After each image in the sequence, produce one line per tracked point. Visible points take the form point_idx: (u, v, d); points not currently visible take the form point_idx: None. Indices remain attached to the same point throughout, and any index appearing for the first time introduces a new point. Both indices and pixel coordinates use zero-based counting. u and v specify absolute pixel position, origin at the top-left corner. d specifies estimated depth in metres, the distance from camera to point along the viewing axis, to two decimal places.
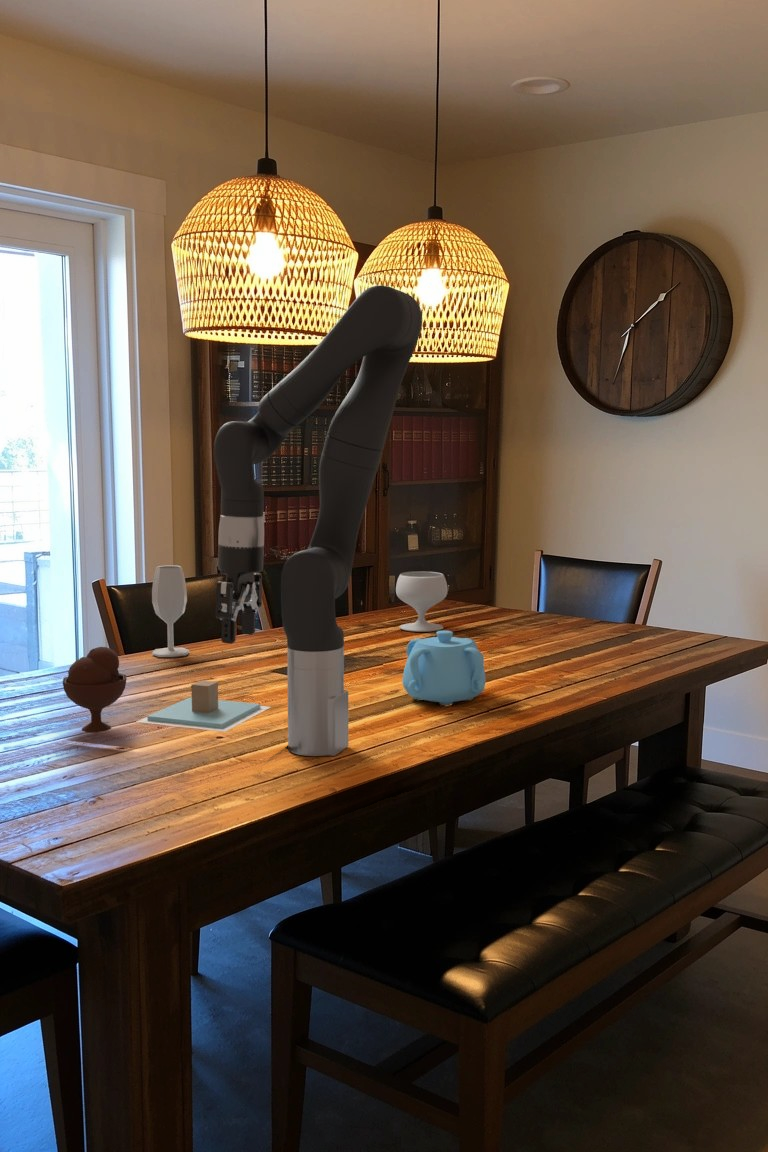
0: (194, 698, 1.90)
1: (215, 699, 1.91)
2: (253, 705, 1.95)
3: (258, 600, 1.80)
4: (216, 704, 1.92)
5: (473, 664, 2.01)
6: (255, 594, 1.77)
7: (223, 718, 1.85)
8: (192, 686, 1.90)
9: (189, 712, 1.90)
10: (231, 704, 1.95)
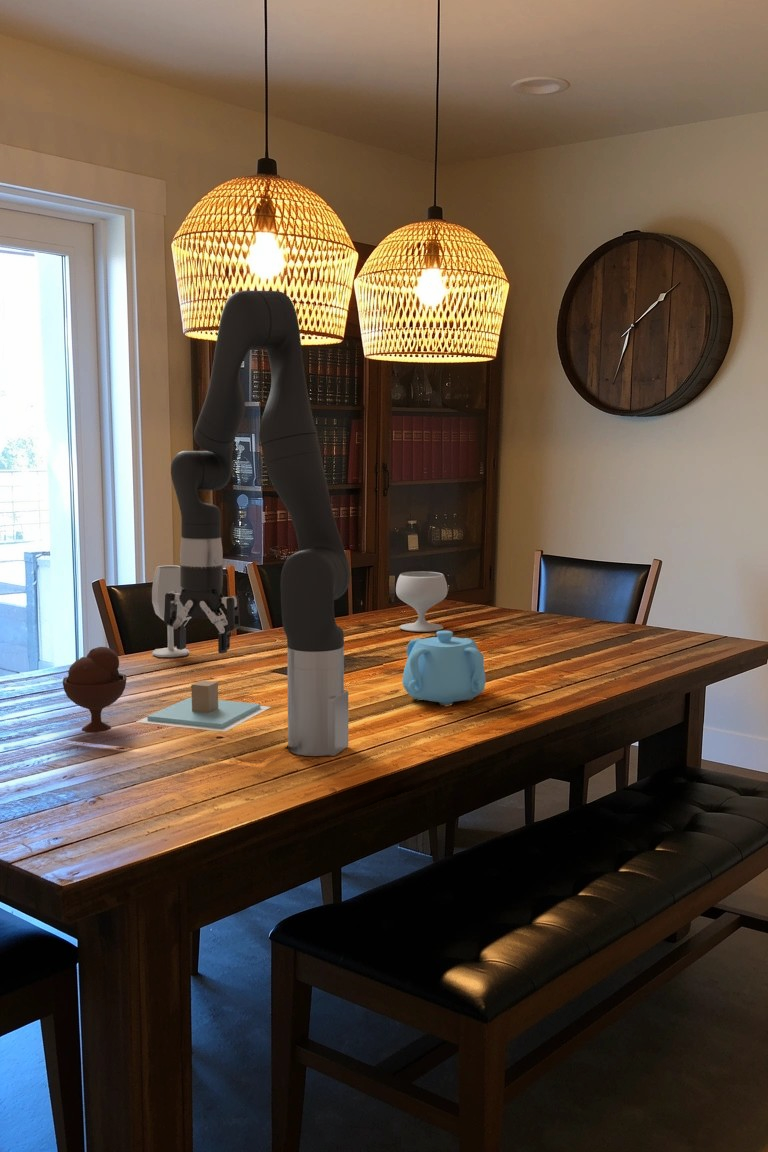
0: (194, 698, 1.90)
1: (215, 699, 1.91)
2: (253, 705, 1.95)
3: (176, 616, 1.92)
4: (216, 704, 1.92)
5: (473, 664, 2.01)
6: None
7: (223, 718, 1.85)
8: (192, 686, 1.90)
9: (189, 712, 1.90)
10: (231, 704, 1.95)
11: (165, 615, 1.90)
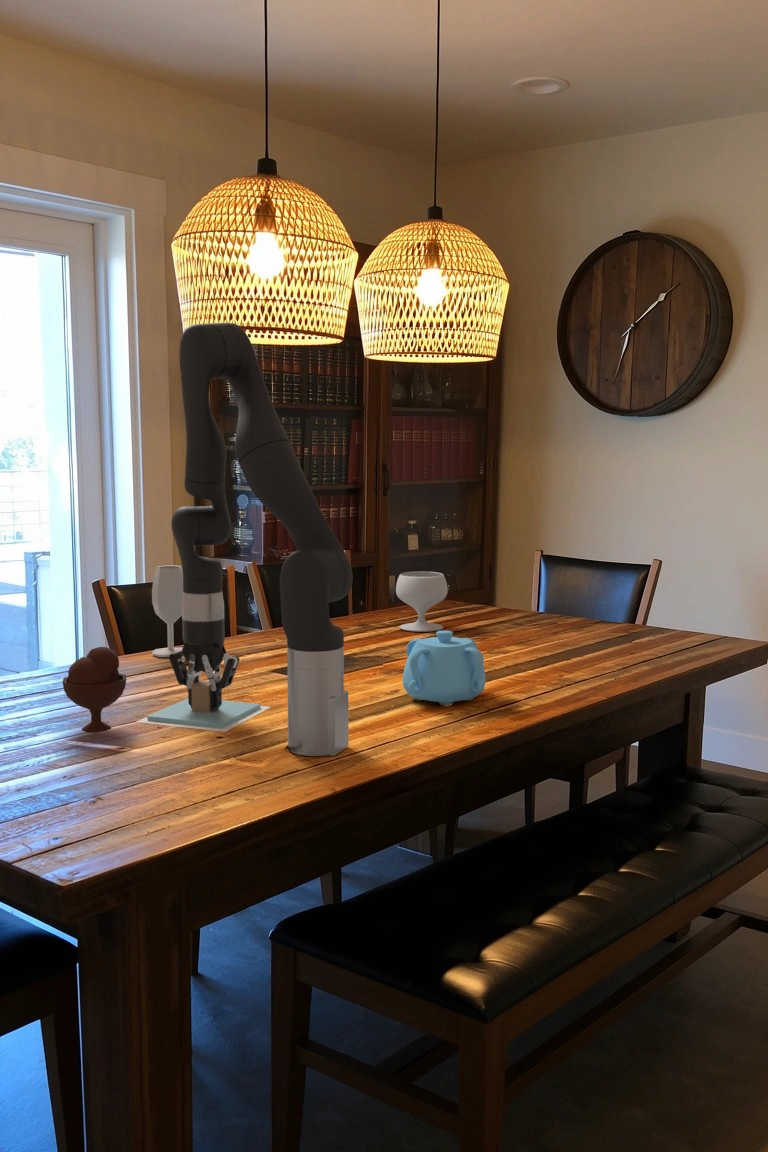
0: (194, 698, 1.90)
1: None
2: (253, 705, 1.95)
3: None
4: None
5: (473, 664, 2.01)
6: None
7: (223, 718, 1.85)
8: (192, 686, 1.90)
9: (189, 712, 1.90)
10: (231, 704, 1.95)
11: (177, 676, 1.91)
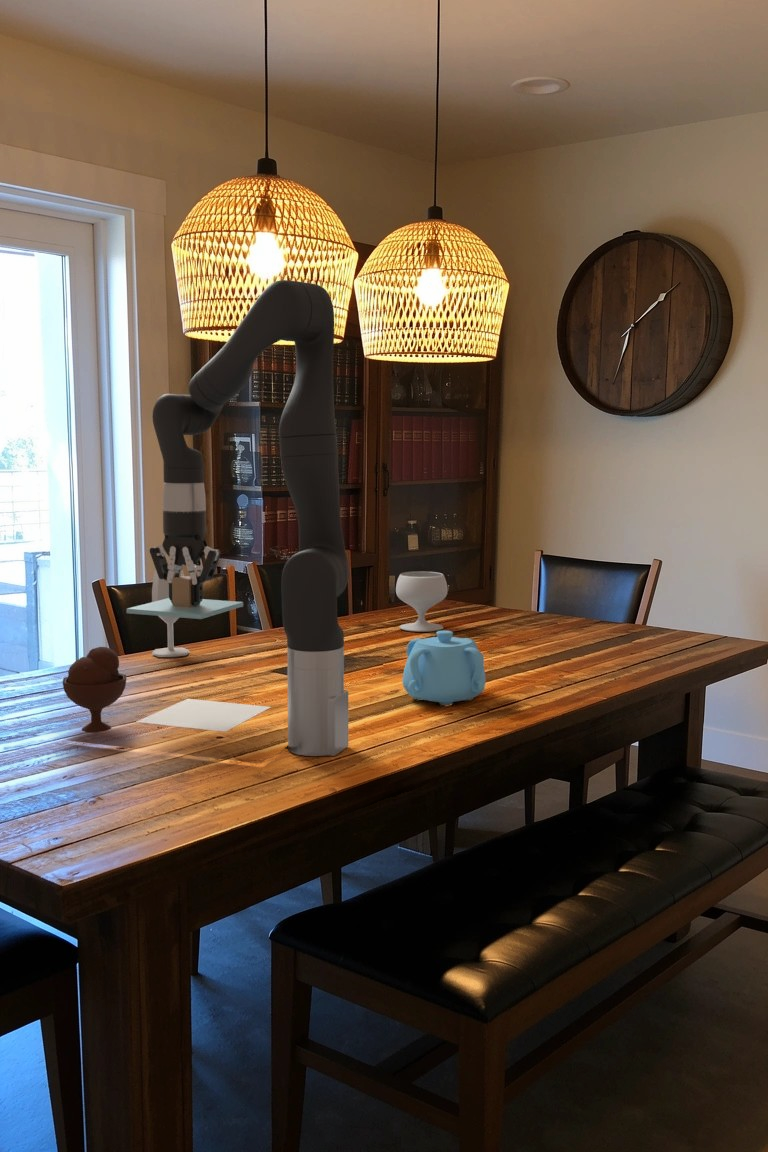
0: (175, 592, 1.86)
1: None
2: (235, 602, 1.91)
3: None
4: None
5: (473, 664, 2.01)
6: None
7: (203, 611, 1.81)
8: (173, 580, 1.86)
9: (169, 606, 1.86)
10: (213, 602, 1.91)
11: (157, 570, 1.87)
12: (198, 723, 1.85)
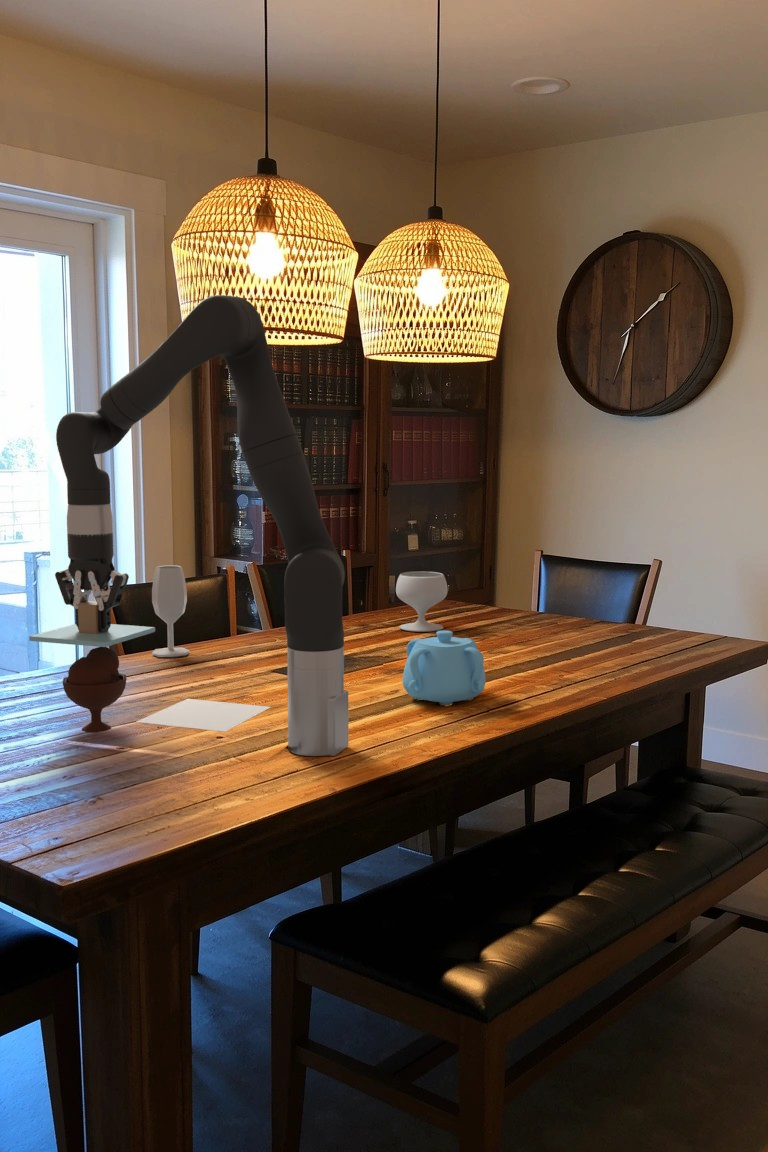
0: (81, 618, 1.78)
1: None
2: (147, 628, 1.83)
3: None
4: None
5: (473, 664, 2.01)
6: None
7: (109, 638, 1.74)
8: (79, 605, 1.78)
9: (75, 633, 1.78)
10: (124, 627, 1.84)
11: (63, 595, 1.79)
12: (198, 723, 1.85)
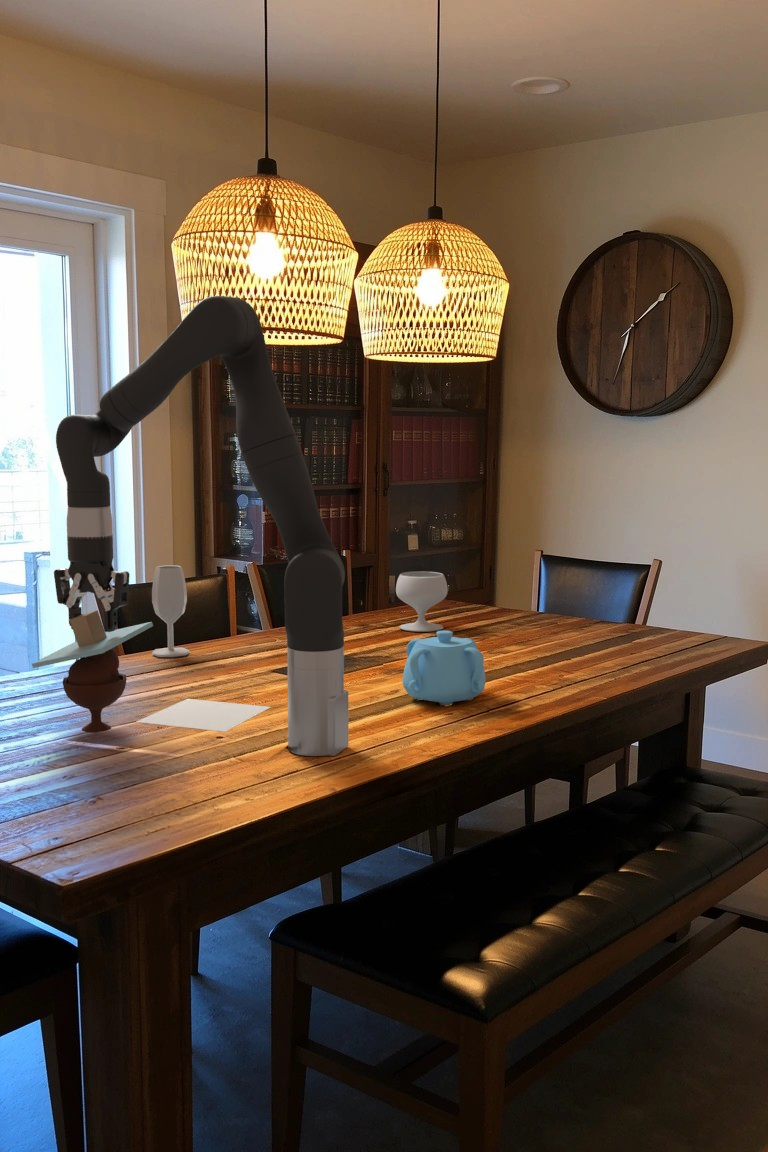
0: (76, 633, 1.78)
1: (100, 628, 1.80)
2: (143, 624, 1.83)
3: None
4: (102, 633, 1.80)
5: (473, 664, 2.01)
6: None
7: (106, 644, 1.73)
8: (70, 621, 1.78)
9: (75, 648, 1.78)
10: (122, 630, 1.84)
11: (57, 593, 1.80)
12: (198, 723, 1.85)
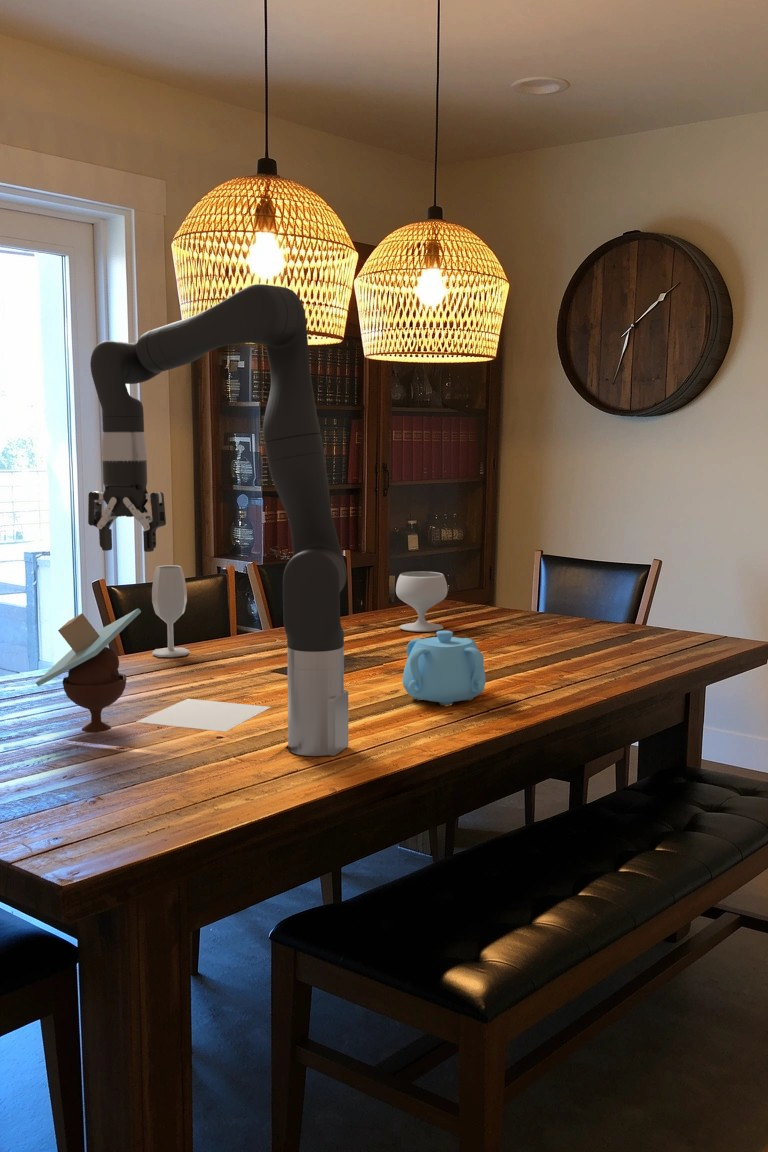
0: (69, 641, 1.78)
1: (90, 630, 1.79)
2: (131, 613, 1.82)
3: (101, 517, 1.86)
4: (94, 633, 1.80)
5: (473, 664, 2.01)
6: None
7: (98, 644, 1.73)
8: (59, 631, 1.78)
9: (73, 656, 1.78)
10: (113, 624, 1.83)
11: (89, 515, 1.84)
12: (198, 723, 1.85)
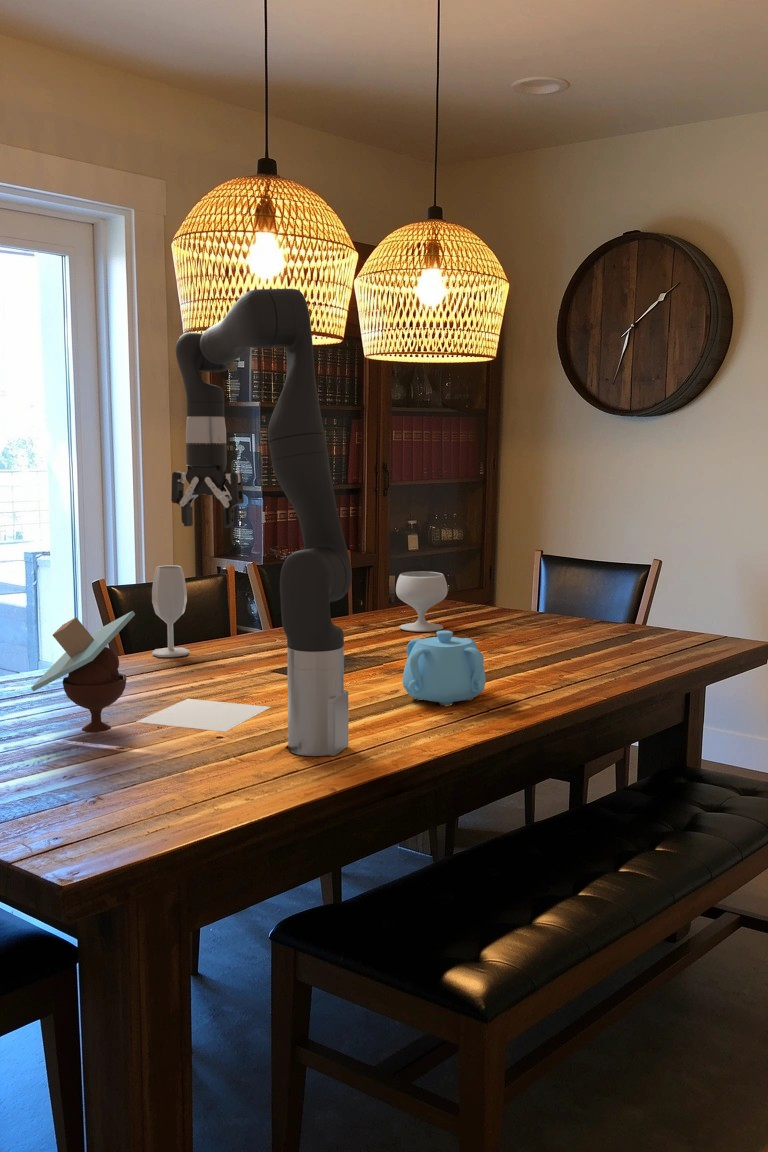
0: (63, 645, 1.78)
1: (84, 633, 1.79)
2: (125, 616, 1.81)
3: (182, 496, 2.01)
4: (89, 637, 1.79)
5: (473, 664, 2.01)
6: None
7: (93, 649, 1.73)
8: (54, 636, 1.77)
9: (67, 660, 1.78)
10: (107, 627, 1.83)
11: (172, 493, 2.00)
12: (198, 723, 1.85)
